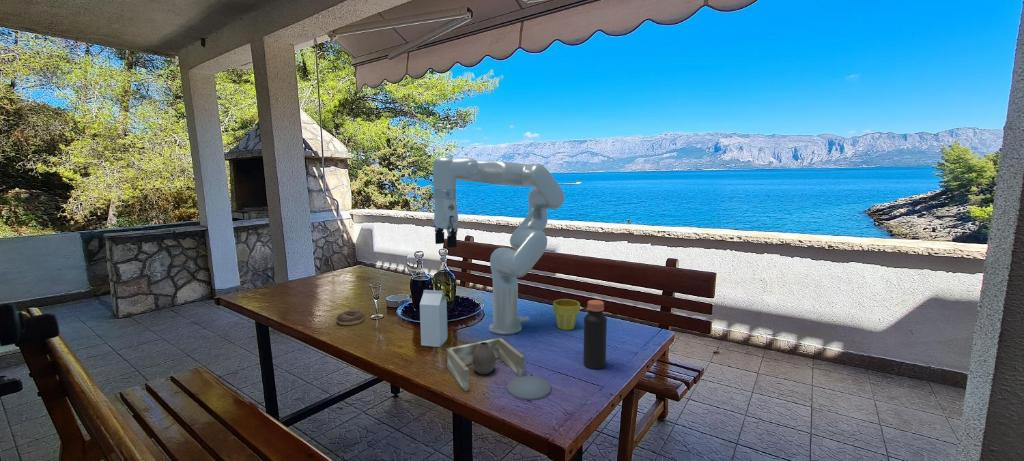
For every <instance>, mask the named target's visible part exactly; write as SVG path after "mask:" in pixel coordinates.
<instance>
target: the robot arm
mask: <svg viewBox="0 0 1024 461" xmlns="http://www.w3.org/2000/svg"><path fill="white" fill-rule="evenodd" d="M432 178H433V179H432V180H433V182H432V183H433V184H432V185H433V190H432V191H433V200H434V214H433V224H434V226H433V227H434V236H435V239H434V240H435V245H441V244H443V245H444V244H445V232H444V231H445V230H446V232H447V235H446V245H447V246H446V248H448V249H449V248H450V249H451V248H457V243H458V242H457V241H458V240H457V236H458V233H457V232H458V231H459V230H458V228H459V212H458V210H459V209H458V205H457V181H458V182H459V181H461V182H472V183H473V182H474V183H482V184H483V183H484V184H489V185H500V186H501V185H502V186H512V187H513V186H514V187H523V188H527V187H528V188H531V189H530V191H529V193H528V195H527V201H528V213H527V215H526V216H525V218H524V219H523V220H522V221H521V223H520V224H519V225H518V226H517V228H516V229H515V230H514V231H513V233H512V234H511V235H510V238H509V243H510V246H511V247H512V248H509V247H499V248H496V249H494V251H493V252H492V253H491V255H490V258H489V265H490V271H491V276H492V323H490V324H489V325H488V330H489V332H491V333H492V334H497V335H504V336H505V335H507V336H508V335H514V334H517V333H520V332H521V331H522V328H523V326H522V323H526V322H527V323H528V322H530V317H529V316H523V315H520V316H519V305H518V304H519V303H518V302H519V300H518V299H519V297H518V293H519V285H518V278H522V277H524V276H526V275H527V274H528V273H529V272H530V271H531V270H532V268H533V267H534V266H535V264H536V263H538V261H539V259H540V258H542V256H543V254H544V253H545V252H546V249H547V246H548V237H547V235H546V233H545V232H544V230H545V229H546V227H547V225H548V219H549V218H548V210H556V209H559V208H562V206H563V204H564V202H565V193H564V190H563V189H562V186H560V184H559V183H558V181H557V180H556V179H555V178H554V176H553V175H552V174H551V172H550V171H549V170H548V168H546V167H545V166H544V165H543V164H542V163H541V164H540V163H517V162H509V161H504V160H493V161H491V160H490V161H477V160H476V159H474V158H471V157H463V158H462V157H461V158H451V157H436V158H435V159H433V161H432Z"/></svg>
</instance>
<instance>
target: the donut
mask: <svg viewBox="0 0 1024 461" xmlns="http://www.w3.org/2000/svg"><path fill="white" fill-rule="evenodd" d="M365 317H366V316H365V313H364V312H363V311H361V310H358V309H349V310H345V311H342V312H340V313H338V314H337V317H336V321H337V323H338V324H339V325H342V326H354V325H358V324H360V323H362V322H363V321H364V319H365Z"/></svg>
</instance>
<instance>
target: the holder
mask: <svg viewBox="0 0 1024 461" xmlns="http://www.w3.org/2000/svg"><path fill="white" fill-rule="evenodd" d="M481 342H487V343H488V345H489V346H490V348H491V349H492V350H493V351H494V354H495V358H496V359H498V358H499V359H500V360H501V361H502V362H503V363H505V364H506V366H508V367H509V368H510V369H511V370H512V371H513V372H515V374H517V375H518V377H520V376H525V356H524V354H522V353H520V352H519V351H518V350H517V349H516V348H514V346H512V345H510V344H509V343H508V342H507V341H506V340H504V338H501V337H498V338H493V339H488V340H483V341H476V342H472V343H467V344H461V345H457V346H453V347H447V348H445V353H446V369H447V370H448V371H449V372H450V373H451V375H452V376H453V377H454V379H455V380H456V382H457V383H458V384H459V385H460V386H461V388H462V389H463V390H464V391H465V392H467V391H470V369H469V368H468V367H467V365H470V364H472V365H473V354H474V352H475V350H476V349H477V348H478V346H479V344H480V343H481Z"/></svg>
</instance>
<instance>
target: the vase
mask: <svg viewBox="0 0 1024 461" xmlns="http://www.w3.org/2000/svg"><path fill="white" fill-rule="evenodd" d="M480 342H481V343H480V344H479V346H478V348H477V349H476V350H475V352H474V354H473V363H472V366H473V368H474V370H475V371H476V373H478V374H479V375H488V374H490V373H491V372H492V371H493V370H494V369H495V367H496V359H497V358H495V354H494V351H493V350H492V349H491V348H490V346H489V345H488V343H487V342H482V341H480Z"/></svg>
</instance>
